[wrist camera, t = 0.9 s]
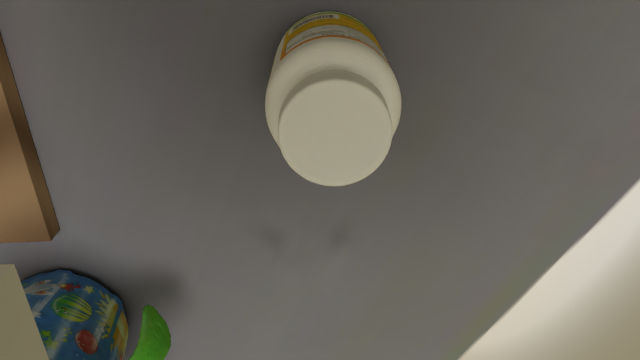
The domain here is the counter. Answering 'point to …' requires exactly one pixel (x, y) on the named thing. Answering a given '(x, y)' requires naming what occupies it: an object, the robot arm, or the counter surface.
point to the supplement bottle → (332, 99)
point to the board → (20, 171)
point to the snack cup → (89, 320)
